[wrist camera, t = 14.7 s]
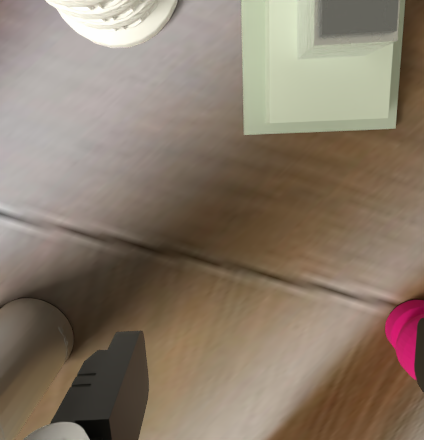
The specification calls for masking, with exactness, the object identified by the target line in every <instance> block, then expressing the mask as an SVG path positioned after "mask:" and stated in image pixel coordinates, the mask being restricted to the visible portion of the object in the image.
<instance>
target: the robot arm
mask: <svg viewBox="0 0 424 440" xmlns="http://www.w3.org/2000/svg"><path fill="white" fill-rule="evenodd" d="M73 343H74V336H73V331H72V327H71V325H70V323H69V321H68V319H67V318H66V317H65V316H64V315H63V313H62V312H61V311H59V310H58V309H57V308H56V307H54V306H53V305H51V304H49V303H47V302H45V301H42V300H39V299H32V298H21V299H17V300H13V301H11V302H9V303H7V304H6V305H4V306H3V307H2V308H1V309H0V440H15V438H16V437H17V435H18V434H19V432H20V431H21V429H22V428H23V426H24V424H25V423H26V421H27V420H28V418H29V417H30V415H31V414H32V412H33V411H34V409H35V408H36V406H37V405H38V403H39V402H40V400H41V398H42V397H43V395H44V394H45V392H46V391H47V389H48V388H49V386H50V385H51V383H52V382H53V380H54V379H55V377H56V376H57V374H58V372H59V371H60V369H61V368H62V366H63V365H64V363H65V362H66V360H67V359H68V357H69V355H70V353H71V351H72V348H73ZM414 371H415V376H416V380H417V382H418V385H419V387H420V388H421V390H422V391H423V392H424V318H421V319H420V320H419V322H418V325H417V335H416V349H415V362H414ZM148 391H149V379H148V369H147V359H146V350H145V340H144V334H143V332H142V331H128V332H116V334H115V335H114V338H113V340H112V342H111V344H110V346H109V348H108V350H97V351H96V352H95V353H94V354H93V355H91V356H90V357H89V358H88V359H87V360H86V361H84V363H83V365H82V367H81V369H80V370H79V372H78V374H77V377H76V378H75V379H74V381H73V383H72V387H70V388H69V390H68V392H67V394H66V396H65V398H64V399H63V401H62V403H61V405H60V407H59V408H58V410H57V412H56V414H55V416H54V417H53V419H52V421H51V423H50V424H49V425H46V426H44V427H41V428H39V429H37V430H36V431H34V432H32V433H31V434H29V435H28V436H27V437H26V438H25V439H24V440H138V438H139V434H140V430H141V426H142V421H143V417H144V413H145V409H146V405H147V400H148Z"/></svg>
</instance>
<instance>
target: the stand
mask: <svg viewBox="0 0 424 440" xmlns="http://www.w3.org/2000/svg"><path fill="white" fill-rule="evenodd" d="M404 10H405V0H400V10H399V26H398V41H396V42H394V43H392V44H389V45H387V46H385V47H383V48H381V49H378V50H376V51H374V52H372V53H370V54H367V55H365V56H351V57H333V58H316V59H299V60H297V0H241V26H242V74H243V123H244V135H255V134H279V133H303V132H326V131H350V130H374V129H396V116H397V102H398V89H399V76H400V63H401V50H402V36H403V23H404Z"/></svg>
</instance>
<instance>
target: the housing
mask: <svg viewBox="0 0 424 440" xmlns="http://www.w3.org/2000/svg"><path fill="white" fill-rule="evenodd" d="M399 10H400V0H297V60H299V59H316V58H333V57H351V56H365V55H367V54H370V53H372V52H374V51H376V50H378V49H381V48H383V47H385V46H387V45H389V44H392V43H394V42H396V41H398V26H399Z"/></svg>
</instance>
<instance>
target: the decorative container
mask: <svg viewBox="0 0 424 440" xmlns="http://www.w3.org/2000/svg"><path fill="white" fill-rule="evenodd" d="M45 1H46V2H48V3H49V4H50V5H52V6H53V7H55V8H56V9H57V10H58V12H59V13H60V15H61V16H62V18H63V19H64V20H65V21H66V22H67V23H68V24H69V25H70V26H71V27H72V28H73V29H74V30H75V31H76V32H77V33H79V34H80V35H82V36H84V37H85V38H87V39H89V40H91V41H92V42H94V43H96V44H99V45H103V46H106V47H110V48H129V47H133V46H136V45H139V44H142V43H145V42H146V41H148V40H149V39H151V38H152V37H154V36H155V35H157V34H158V33H159V32H160V31H161V29H162V28H163V27H164V26H165V25H166V24H167V22H168V21H169V20H170V18H171V16H172V13H173V11H174V9H175V7H176V5H177V1H178V0H45Z"/></svg>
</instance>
